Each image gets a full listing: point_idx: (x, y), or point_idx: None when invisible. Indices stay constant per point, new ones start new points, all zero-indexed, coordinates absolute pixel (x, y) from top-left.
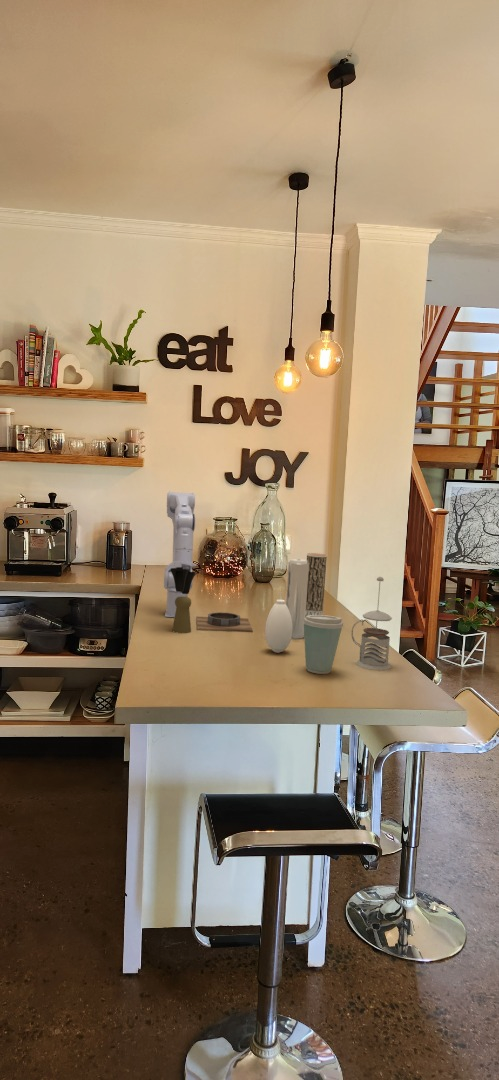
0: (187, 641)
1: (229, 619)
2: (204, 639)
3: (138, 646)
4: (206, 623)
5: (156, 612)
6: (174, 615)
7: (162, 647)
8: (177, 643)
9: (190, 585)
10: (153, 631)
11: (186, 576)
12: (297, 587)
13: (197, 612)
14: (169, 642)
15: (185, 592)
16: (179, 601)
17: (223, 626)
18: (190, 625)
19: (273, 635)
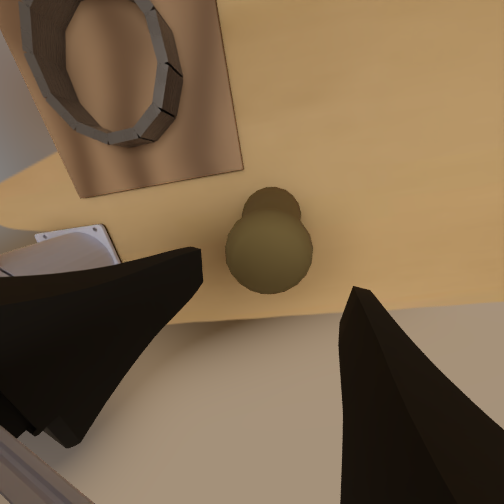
0: (416, 176)
1: (153, 6)
2: (382, 117)
3: (478, 300)
4: (159, 146)
5: None
6: (113, 262)
7: (499, 241)
8: (446, 205)
9: (142, 261)
10: (298, 288)
11: (83, 352)
12: None
13: (11, 206)
14: (431, 230)
15: (197, 267)
16: (307, 270)
17: (179, 60)
18: (269, 192)
19: None
